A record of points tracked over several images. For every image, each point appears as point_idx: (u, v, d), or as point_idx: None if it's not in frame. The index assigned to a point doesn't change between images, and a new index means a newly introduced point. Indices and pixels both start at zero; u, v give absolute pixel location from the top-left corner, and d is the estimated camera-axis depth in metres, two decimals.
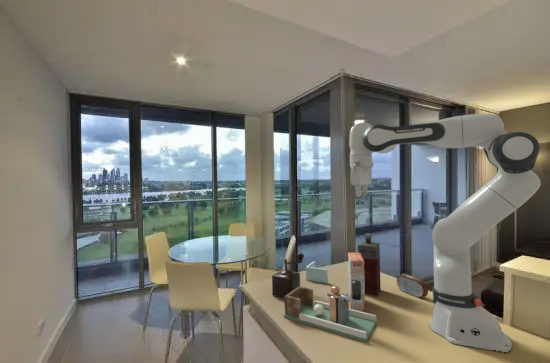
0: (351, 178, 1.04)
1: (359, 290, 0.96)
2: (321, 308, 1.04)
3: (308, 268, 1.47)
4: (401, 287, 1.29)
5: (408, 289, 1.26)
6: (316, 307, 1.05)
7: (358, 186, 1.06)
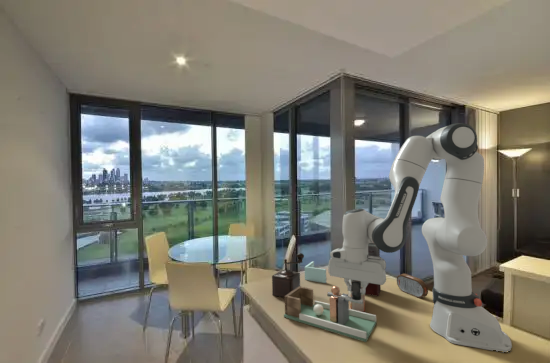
0: (383, 277, 0.91)
1: None
2: (321, 308, 1.04)
3: (307, 268, 1.47)
4: (401, 287, 1.29)
5: (408, 289, 1.26)
6: (316, 307, 1.05)
7: None
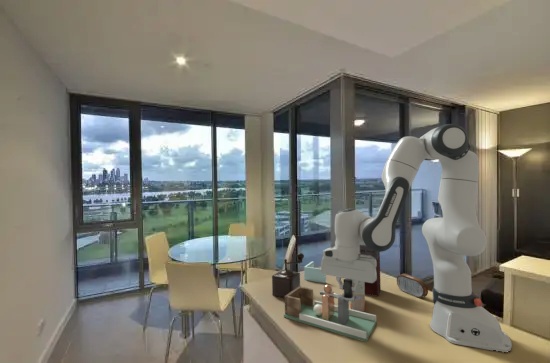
0: (374, 275, 0.93)
1: (351, 288, 0.98)
2: (321, 308, 1.04)
3: (306, 268, 1.47)
4: (401, 287, 1.29)
5: (408, 289, 1.26)
6: (316, 307, 1.05)
7: (359, 280, 0.97)
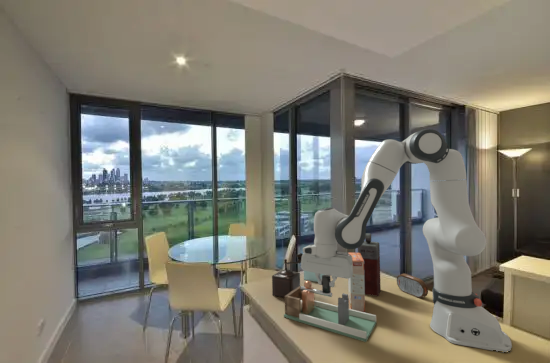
0: (350, 271, 0.97)
1: None
2: None
3: None
4: (401, 287, 1.29)
5: (408, 289, 1.26)
6: (301, 309, 1.08)
7: None
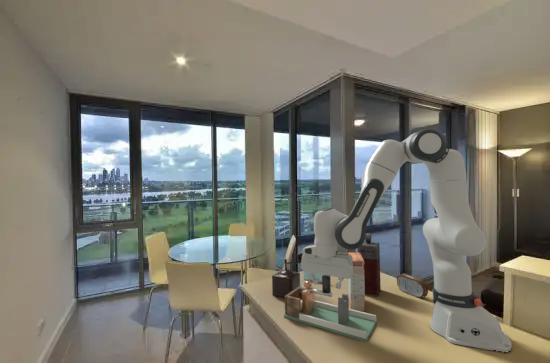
0: (350, 272, 0.97)
1: (329, 284, 1.03)
2: None
3: None
4: (401, 287, 1.29)
5: (408, 289, 1.26)
6: (301, 309, 1.08)
7: (343, 277, 1.01)
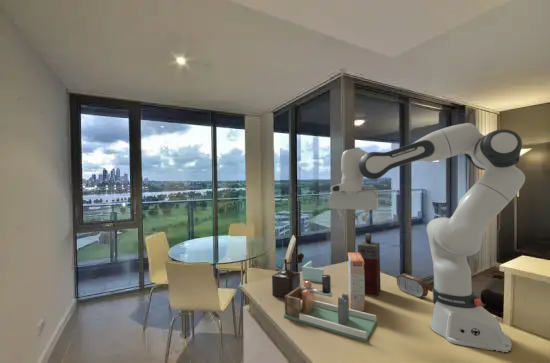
0: (376, 203, 1.06)
1: (329, 284, 1.03)
2: None
3: (305, 268, 1.48)
4: (401, 287, 1.29)
5: (408, 289, 1.26)
6: (301, 308, 1.09)
7: (369, 210, 1.09)
